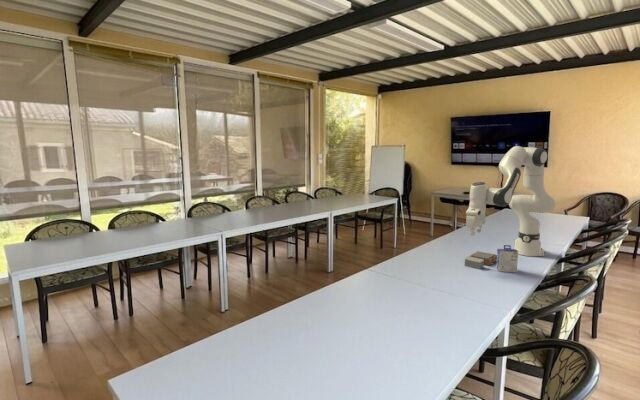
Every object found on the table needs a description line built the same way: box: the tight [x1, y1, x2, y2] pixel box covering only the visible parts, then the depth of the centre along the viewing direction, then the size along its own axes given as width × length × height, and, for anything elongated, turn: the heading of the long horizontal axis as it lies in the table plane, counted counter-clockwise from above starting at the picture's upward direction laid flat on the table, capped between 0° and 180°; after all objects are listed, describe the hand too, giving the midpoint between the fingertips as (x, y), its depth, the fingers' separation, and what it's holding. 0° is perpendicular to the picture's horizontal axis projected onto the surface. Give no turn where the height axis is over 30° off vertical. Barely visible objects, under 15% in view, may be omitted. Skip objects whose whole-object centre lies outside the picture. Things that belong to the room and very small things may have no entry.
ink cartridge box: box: [496, 244, 519, 273], centre depth 198 cm, size 10×6×14 cm, turn 78°
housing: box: [464, 255, 485, 270], centre depth 205 cm, size 5×9×5 cm, turn 43°
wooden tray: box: [469, 250, 497, 267], centre depth 215 cm, size 14×12×4 cm
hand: (475, 233), depth 203 cm, fingers open, 8 cm apart
